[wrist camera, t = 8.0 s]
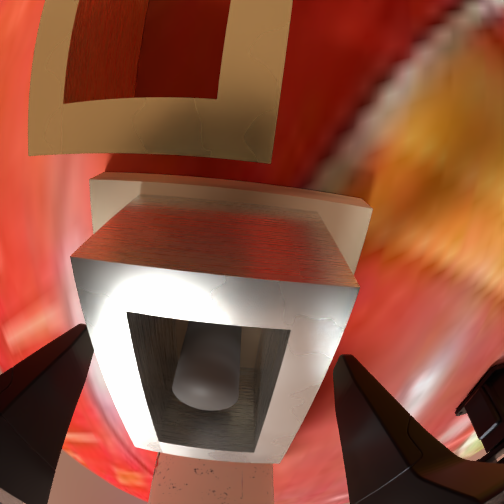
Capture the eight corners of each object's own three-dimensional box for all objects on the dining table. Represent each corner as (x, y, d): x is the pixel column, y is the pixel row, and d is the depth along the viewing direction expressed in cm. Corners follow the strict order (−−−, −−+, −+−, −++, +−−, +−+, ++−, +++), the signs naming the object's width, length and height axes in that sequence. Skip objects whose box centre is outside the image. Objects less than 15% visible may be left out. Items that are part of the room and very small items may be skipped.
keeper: (361, 198, 11) (430, 266, 6) (306, 375, 15) (318, 457, 10) (104, 171, 10) (17, 221, 5) (127, 354, 15) (98, 431, 10)
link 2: (139, 194, 9) (69, 256, 5) (317, 211, 10) (359, 287, 6) (156, 371, 13) (135, 446, 9) (274, 384, 14) (279, 463, 10)
